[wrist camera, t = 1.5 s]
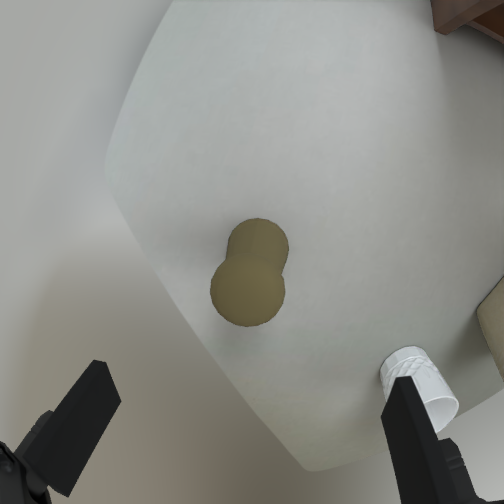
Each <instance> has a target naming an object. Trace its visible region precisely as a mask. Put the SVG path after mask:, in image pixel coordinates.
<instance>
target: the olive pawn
mask: <svg viewBox="0 0 504 504" xmlns="http://www.w3.org/2000/svg"><path fill="white" fill-rule="evenodd" d="M288 251H289V246H288V240H287V238H286V236H285V233H284V231H283V230H282V229H281V228H280V227H279V226H278V225H277V224H275V223H273V222H271V221H269V220H265V219H260V218H256V219H249V220H246V221H244V222H242V223H240V224H239V225H238V226H237V227H236V228H235V229H234V230H233V231H232V233H231V235H230V237H229V241H228V248H227V255H226V260H225V261H224V262H223V263H222V264H221V265H220V266H219V267H218V268H217V270H216V272H215V274H214V276H213V278H212V280H211V288H210V295H211V299H212V303H213V305H214V307H215V308H216V310H217V311H218V313H219V314H220V315H221V316H223V317H224V318H225V319H226V320H227V321H229V322H231V323H233V324H235V325H239V326H245V327H249V326H258V325H260V324H263V323H266V322H268V321H269V320H270V319H272V318H273V317H274V316H275V315H276V314H277V312H278V311H279V309H280V308H281V306H282V304H283V301H284V297H285V285H284V279H283V277H282V275H281V274H282V271H283V268H284V265H285V263H286V260H287V256H288Z"/></svg>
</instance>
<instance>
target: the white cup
mask: <svg viewBox="0 0 504 504" xmlns="http://www.w3.org/2000/svg"><path fill="white" fill-rule="evenodd" d="M403 376H411V377H412V379H413V381H414V383H415V385H416V388H417V390H418V392H419V394H420V397H421V399H422V401H423V403H424V406H425V408H426V410H427V413H428V415H429V418H430V420H431V423H432V425H433V428H434V430H435V433H437V432H439V431H440V430H442V429H443V428H444V427H445V426H447V425H448V423H449V422H451V420H452V419H453V418H454V416H455V415H456V413H457V411H458V407H459V403H458V400H457V399H456V397H455V395H454V394H453V392H452V391H451V389H450V387H449V386H448V384H447V383H446V381H445V379H444V378H443V376H442V375H441V373H440V372H439V370H438V369H437V368H436V366H435V365H434V363H432V362H431V360H430V359H429V358H428V356H427V354H426V353H425V351H424V350H423V349H421V348H419V347H416V346H410V347H404V348H402V349H400V350H397V351H395V352H394V353H392V354H391V355H390V356H389V357H388V358H387V359H386V360H385V361H384V363H383V365H382V367H381V369H380V378H381V382H382V385H383V391H384V396H385V400H386V402H387V400H388V397H389V395H390V392H391V389H392V387H393V384H394V381H395V378H396V377H403Z"/></svg>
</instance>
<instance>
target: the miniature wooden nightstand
mask: <svg viewBox="0 0 504 504" xmlns="http://www.w3.org/2000/svg"><path fill="white" fill-rule="evenodd" d="M431 6H432V12H433V20H434V29H435V31H436V32H439V33H441V34H444V35H447V34H449V33H450V32H452V31H454V30H455V29H457V28H459V27H460V26H462V25H464V24H467V25H469V26H471V27H473V28H475V29H477V30H479V31H481V32H483V33H485V34H487V35H489V36H490V37H492V38H494V39H496V40H497V41H499V42H501V43H502V44H504V0H431Z"/></svg>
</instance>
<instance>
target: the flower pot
mask: <svg viewBox="0 0 504 504" xmlns="http://www.w3.org/2000/svg"><path fill="white" fill-rule="evenodd" d="M477 316H478V320H479V323H480V326H481V329H482V331H483V334H484V337H485V339H486V342H487V344H488V347H489V349H490V351H491V354H492V356H493V358H494V361H495V363H496V365H497V367H498V370H499V372H500V374H501V376H502V379H503V381H504V277H503V278H502V280H501V281H500V282H499V283H498V284H497V286H496V287H495V288H494V289H493V290H492V292H491V293H490V294H489V295H488V296H487V297H486V299H485V300H484V301H483V302H482V303H481V304H480V305H479V307H478V309H477Z"/></svg>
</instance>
